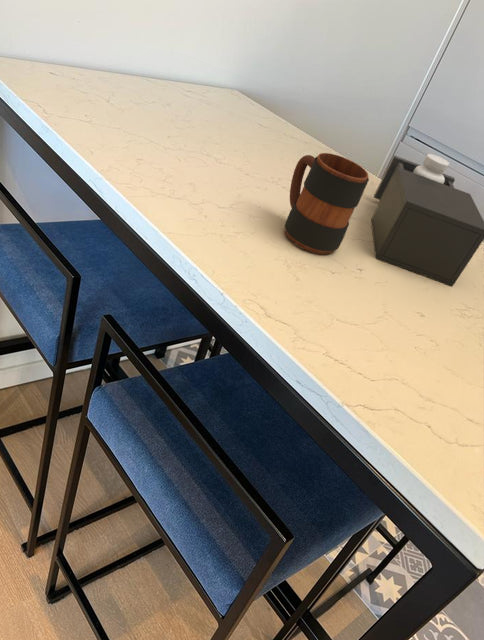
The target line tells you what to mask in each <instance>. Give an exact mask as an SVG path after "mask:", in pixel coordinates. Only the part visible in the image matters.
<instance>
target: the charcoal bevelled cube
mask: <svg viewBox="0 0 484 640" xmlns="http://www.w3.org/2000/svg"><path fill="white" fill-rule="evenodd" d="M376 207H377V208H376V209H375V211H374V212H373V216H372V217H371V219H370V222H371V229H372V238H373V248H374V255H375V259H376V260H379V261H382V262H384V263H387V264H391V265H392V266H395V267H398V268H401V269H404V270H407V271H408V272H409V271H410V272H412V273H414V274H418V275H421V276H423V277H426V278H428V279H431V280H433V281H437V282H439V283H442V284H444V285H447V286H450V287H454V285H455V284H456V282H457V280H458V279H459V278H460V276H461V274H462V273H463V272H464V270H465V268H466V267H467V266H468V264H469V263H470V261H471V259H472V258H473V256H474V255H475V254H476V252H477V251H478V249H479V247H480V246H481V244H482V243H483V242H484V218H483V217H482V214H481V213H480V211H479V209H478V207H477V205H476V203H475V200H474V199H473V197H472V194H471V193H468V192H466V191H463V190H461V189H458V188H455V187H454V188H453V187H450V186H447V185H445V184H442V183H439V182H436V181H434V180H431V179H428V178H426V177H423V176H420V175H418V174H415V173H412V172H410V171H407V170H404V169H402V168H399V167H398V168H397V170H396V172H395V174H394V176H393V178H392V180H391V182H390V184H389V186H388V188H387V190H386V192H385V194H384V196H383V198H382V199H381V201H380V203H379V204H378V205H377V206H376Z"/></svg>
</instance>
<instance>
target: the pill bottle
mask: <svg viewBox="0 0 484 640" xmlns="http://www.w3.org/2000/svg"><path fill="white" fill-rule="evenodd" d="M422 163H423V164H422V165H421V164H419V165H420V166H417V167H416V168H415V169H414V171H413V173H415V174H418V175H420V176H423V177H426V178H428V179H431V180H434V181H436V182H439V183H442V184H443V183H444V181H445V179H444V176H443V175H442V174H445V173H446V171H447V170H448V168H449V166H450V162H449V161H448V160H446V159H444V158H443V157H442V156H439V155H435V154H432V153H428V154H426V156H425V157H424V159H423V162H422Z"/></svg>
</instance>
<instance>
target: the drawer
mask: <svg viewBox="0 0 484 640" xmlns="http://www.w3.org/2000/svg"><path fill="white" fill-rule="evenodd" d="M420 165H421V164H419V163H416V162H414V161H411V160H409V159H405V158H402V157H400V156H398V155H393V157H392V159H391V161H390V162H389V164H388V167H387V168H386V170H385V173H384V174H383V176H382V178H381V180H380V182H379V184H378V187H377V189H376V190H375V192H374V194H373V198H374V199H376V200H378V202H379V203H380V201H381V199H382V198H383V196H384V194H385V192H386V190H387V188H388V186H389V184H390V182H391V180H392V178H393V176H394V174H395V172H396V170H397V168H398V167H399V168H402V169H404V170H407V171H410V172H412V173H413V171H414V169H415V168H416V167H417V166H420ZM442 175H443V176H444V179H445V181H444V183H443V184H445V185H447V186H450V187H453V188H455V186H454V183H455V181H456V179H455V177H454V176H451V175H448V174H445V173H443V174H442Z"/></svg>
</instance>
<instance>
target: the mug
mask: <svg viewBox="0 0 484 640" xmlns="http://www.w3.org/2000/svg"><path fill="white" fill-rule="evenodd" d="M307 167H309V168H310V169H309V171H308V173H307V175H306V177H305V179H304V175H305V172H306V169H307ZM303 180H304V181H303ZM369 180H370V178H369V173H368V171H367V170H366V169H365V168H363V167H362V166H361V165H360V164H358V163H356V162H354V161H353V160H350V159H348V158H346V157H343V156H341V155H339V154H334V153H330V152H329V153H328V152H322V153H318V155H317V156H313V155H311V154H306V155H303V156H302V157H301V158H299V160H298V161H297V163H296V165H295V168H294V170H293V174H292V177H291V182H290V188H289V204H290V211H289V213H288V215H287V217H286V220H285V223H284V230H285V235H286V237H287V238H288V240H289V241H290V242H291V243H293V244H294V245H295V246H298V248H299V249H300V248H301V249H302V250H305V251H306V252H310V253H313V254H316V255H330V254H332V253H333V252H335V251H337V250H338V249H339V248H340V246H341V244H342V243H343V240H344V238H345V236H346V233H347V231H348V228H349V226H350V219H351V217H352V215H353V213H354V211H355V209H356V208H357V207H358V206H359V203H360V201H361V199H362V196H363V194H364V191H365V189H366V187H367V185H368V183H369ZM302 183H303V187H302Z"/></svg>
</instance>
